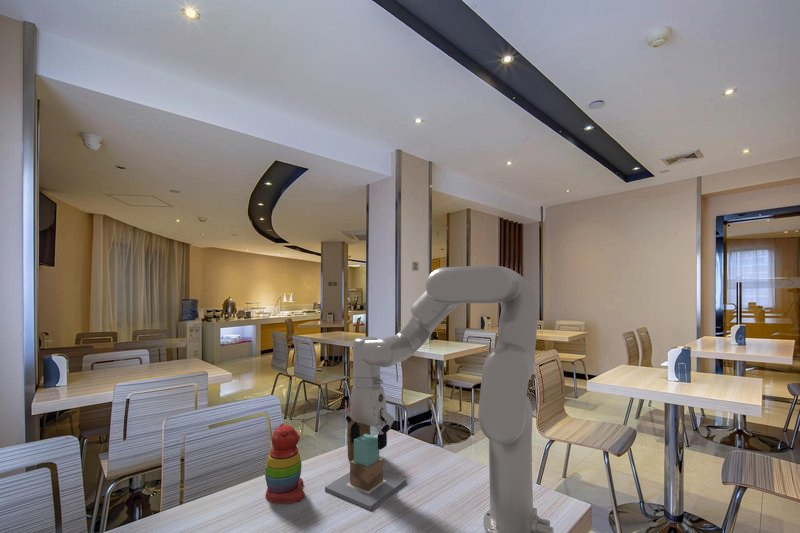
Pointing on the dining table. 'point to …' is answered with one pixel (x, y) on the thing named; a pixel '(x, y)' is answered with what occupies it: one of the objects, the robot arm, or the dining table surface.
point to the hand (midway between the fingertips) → (368, 444)
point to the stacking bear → (284, 467)
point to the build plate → (364, 497)
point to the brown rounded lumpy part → (350, 445)
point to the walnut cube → (366, 474)
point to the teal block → (366, 449)
